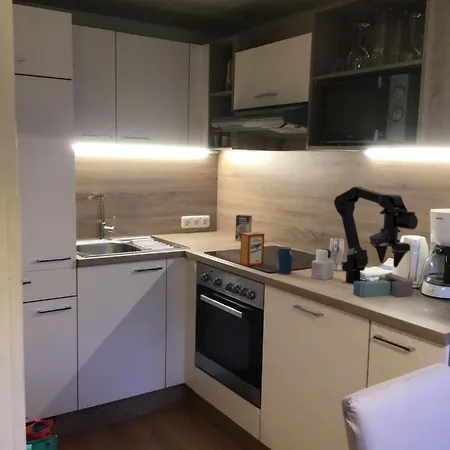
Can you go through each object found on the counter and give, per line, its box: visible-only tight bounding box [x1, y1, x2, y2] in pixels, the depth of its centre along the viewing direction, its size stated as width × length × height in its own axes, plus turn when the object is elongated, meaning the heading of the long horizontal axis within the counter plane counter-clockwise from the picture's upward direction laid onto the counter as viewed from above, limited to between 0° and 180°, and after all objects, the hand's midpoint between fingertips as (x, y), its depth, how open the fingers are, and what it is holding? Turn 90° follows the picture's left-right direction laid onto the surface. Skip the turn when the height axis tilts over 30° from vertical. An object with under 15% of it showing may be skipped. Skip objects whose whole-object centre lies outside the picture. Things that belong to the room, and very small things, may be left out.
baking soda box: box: [239, 231, 265, 267], centre depth 271 cm, size 10×6×16 cm
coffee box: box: [234, 214, 253, 242], centre depth 345 cm, size 9×6×16 cm
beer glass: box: [328, 237, 345, 272], centre depth 265 cm, size 7×7×15 cm
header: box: [378, 273, 414, 298], centre depth 217 cm, size 12×7×7 cm, turn 20°
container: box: [310, 248, 335, 281], centre depth 246 cm, size 8×8×13 cm
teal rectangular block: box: [352, 279, 391, 298], centre depth 214 cm, size 5×14×5 cm, turn 110°
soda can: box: [275, 246, 293, 275], centre depth 253 cm, size 7×7×12 cm
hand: (388, 265), depth 218 cm, fingers open, 9 cm apart
